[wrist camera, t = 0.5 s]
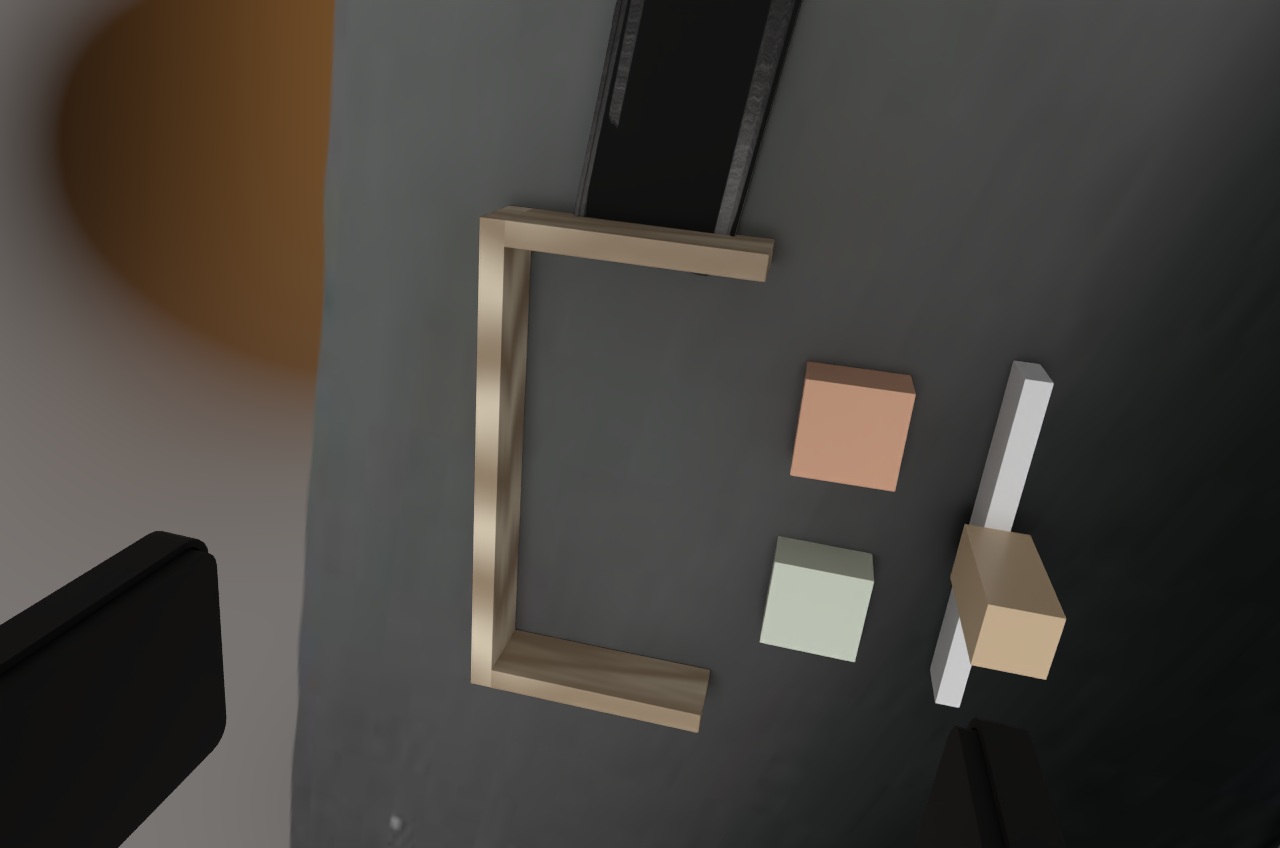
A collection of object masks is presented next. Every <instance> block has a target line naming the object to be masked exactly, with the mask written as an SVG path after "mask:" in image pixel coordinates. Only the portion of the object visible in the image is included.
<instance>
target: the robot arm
mask: <svg viewBox="0 0 1280 848" xmlns="http://www.w3.org/2000/svg"><path fill="white" fill-rule="evenodd" d="M219 608H220V607H219V591H218V575H217V564H216V560H215V558H214V556H213V555H211V554H209V553H208V549H207V547H206V545H205V543H204V542H202V541H200V540H198V539H195V538H190V537H186V536H181V535H177V534H172V533H168V532H164V531H155V532H153V533H150V534H148V535H146V536H145V537H143V538H141V539H140V540H138V541H136V542H135V543H133V544H132V545H130V546H128V547H127V548H125V549H123V550H122V551H120V552H119V553H117V554H115V555H114V556H112V557H110V558H109V559H107V560H106V561H104V562H102V563H101V564H99V565H97V566H96V567H94V568H92V569H91V570H89V571H88V572H86V573H84V574H83V575H81V576H79V577H78V578H76V579H75V580H73V581H71V582H70V583H68V584H67V585H65V586H63V587H62V588H60V589H58V590H57V591H55V592H53V593H52V594H50V595H49V596H47V597H45V598H44V599H42V600H41V601H39V602H37V603H35V604H34V605H33V606H31V607H29V608H27V609H26V610H24V611H23V612H21V613H19V614H18V615H16V616H14V617H13V618H11V619H9V620H8V621H6V622H5V623H3V624H1V625H0V848H118V847H119V846H120V845H121V844H122V843H123V842H124V841H125V840H126V839H127V838H128V837H129V836H130V835H131V834H132V833H133V832H134V831H135V830H136V829H137V828H138V826H140V825H141V824H142V823H143V822H144V821H145V820H146V818H147V817H148V816H149V815H150V814H151V813H152V812H153V811H154V810H155V809H156V808H157V807H158V806H159V805H160V804H161V803H162V802H163V801H164V800H165V799H166V798H167V797H168V796H169V795H170V794H171V793H172V792H173V791H174V790H175V789H176V788H177V787H178V786H179V785H180V784H181V783H182V781H184V779H185V778H186V777H187V776H188V775H189V774H190V773H191V772H192V771H193V770H194V769H195V768H196V767H197V766H198V765H199V764H200V763H201V762H202V761H203V760H204V759H205V758H206V757H207V756H208V755H209V754H210V753H211V752H212V751H213V750H214V748H215V747H216V746H217V745H218V743H219V741H220V739H221V738H222V735H223V733H224V730H225V726H226V705H225V689H224V674H223V673H224V672H223V656H222V641H221V624H220V609H219ZM914 848H1066V846H1065V843H1064V840H1063V837H1062V834H1061V830H1060V827H1059V824H1058V821H1057V818H1056V815H1055V811H1054V808H1053V805H1052V802H1051V799H1050V796H1049V793H1048V789H1047V786H1046V783H1045V780H1044V777H1043V774H1042V770H1041V767H1040V764H1039V761H1038V758H1037V755H1036V752H1035V748H1034V745H1033V742H1032V739H1031V736H1030V734H1029V732H1028V731H1027V730H1026V729H1024V728H1020V727H1016V726H1011V725H1007V724H1003V723H998V722H994V721H989V720H985V719H981V718H973V719H972V720H971V722H970V723H969V725H968V728H967V729H966V728H962V727H957V726H954V727H952V729H951V730H950V733H949V736H948V739H947V742H946V745H945V748H944V751H943V755H942V758H941V761H940V764H939V767H938V771H937V774H936V777H935V780H934V784H933V787H932V790H931V793H930V796H929V800H928V803H927V806H926V809H925V812H924V816H923V819H922V822H921V825H920V828H919V832H918V835H917V838H916V841H915V845H914Z"/></svg>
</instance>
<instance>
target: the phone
mask: <svg viewBox="0 0 1280 848" xmlns="http://www.w3.org/2000/svg"><path fill="white" fill-rule="evenodd" d="M801 2H802V0H617V3H616V6H615V11H614V16H613V21H612V28H611V33H610V38H609V43H608V48H607V53H606V58H605V63H604V68H603V73H602V78H601V83H600V88H599V93H598V97H597V102H596V107H595V112H594V117H593V122H592V127H591V132H590V137H589V142H588V147H587V152H586V157H585V162H584V167H583V172H582V177H581V182H580V186H579V191H578V196H577V201H576V206H575V211H574V216H576V217H579V216H580V217H587V218H595V219H603V220H611V221H619V222H627V223H634V224H642V225H650V226H658V227H666V228H673V229H681V230H689V231H697V232H705V233H713V234H720V235H728V236H732V237H735V235H736V232H737V229H738V225H739V222H740V218H741V215H742V211H743V208H744V204H745V200H746V197H747V193H748V190H749V186H750V183H751V179H752V176H753V172H754V168H755V165H756V161H757V158H758V154H759V151H760V147H761V144H762V140H763V137H764V133H765V129H766V126H767V122H768V119H769V115H770V112H771V108H772V105H773V101H774V97H775V94H776V90H777V87H778V83H779V80H780V76H781V73H782V69H783V65H784V62H785V58H786V55H787V51H788V48H789V44H790V41H791V37H792V34H793V30H794V26H795V23H796V19H797V16H798V12H799V9H800V5H801ZM690 273H694V272H690ZM694 274H697V275H704V276H707V275H709V274H701V273H694Z"/></svg>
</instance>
